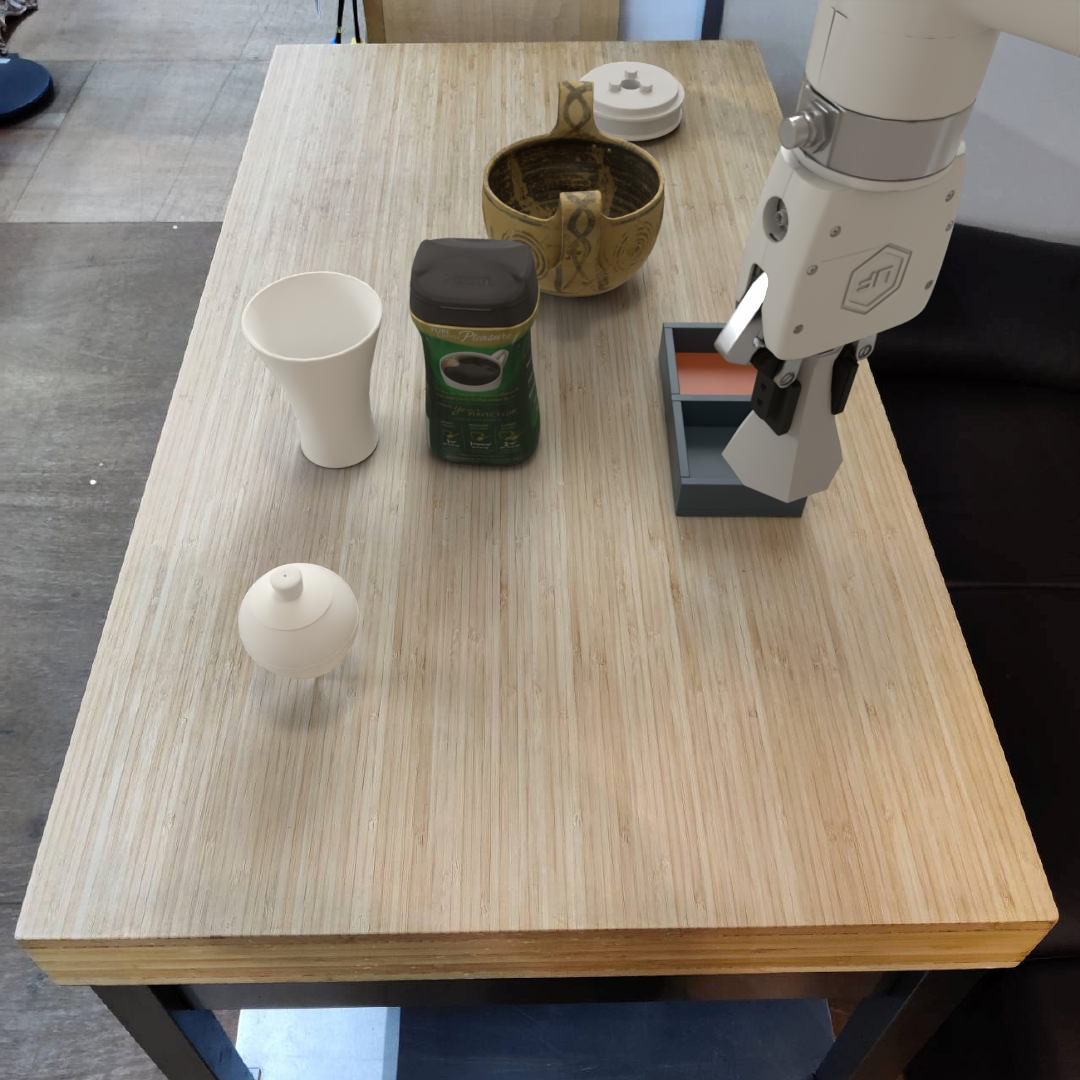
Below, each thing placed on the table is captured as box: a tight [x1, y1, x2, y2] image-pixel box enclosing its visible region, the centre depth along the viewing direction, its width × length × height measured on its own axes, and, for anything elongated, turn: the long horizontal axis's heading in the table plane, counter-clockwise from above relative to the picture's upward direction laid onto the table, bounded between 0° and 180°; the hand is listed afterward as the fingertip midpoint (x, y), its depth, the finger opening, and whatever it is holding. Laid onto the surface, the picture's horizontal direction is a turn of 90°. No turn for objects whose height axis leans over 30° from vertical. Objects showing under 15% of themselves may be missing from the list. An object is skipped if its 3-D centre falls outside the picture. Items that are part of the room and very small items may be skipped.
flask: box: [722, 345, 844, 503], centre depth 59 cm, size 7×7×10 cm
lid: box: [578, 61, 686, 142], centre depth 115 cm, size 13×13×5 cm
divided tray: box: [658, 321, 809, 518], centre depth 83 cm, size 19×10×4 cm, turn 0°
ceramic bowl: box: [481, 79, 666, 298], centre depth 92 cm, size 22×17×15 cm
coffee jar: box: [408, 237, 541, 467], centre depth 77 cm, size 10×8×19 cm
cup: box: [240, 270, 384, 469], centre depth 78 cm, size 10×10×14 cm
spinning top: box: [237, 562, 360, 681], centre depth 65 cm, size 8×8×12 cm
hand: (796, 407), depth 59 cm, fingers closed on flask, 3 cm apart
